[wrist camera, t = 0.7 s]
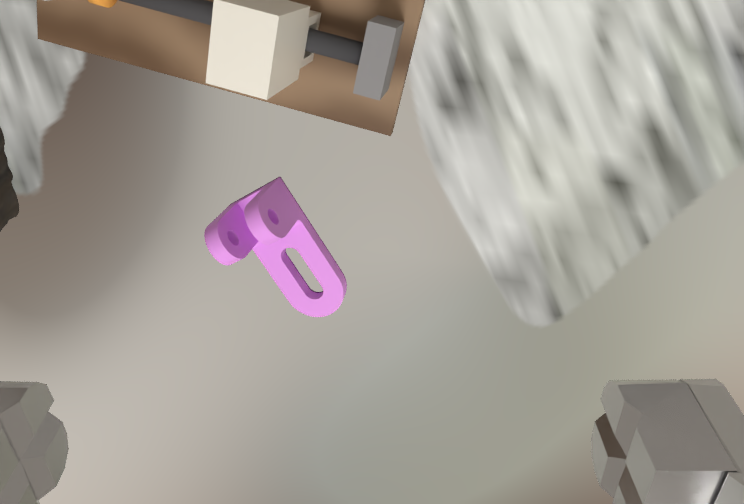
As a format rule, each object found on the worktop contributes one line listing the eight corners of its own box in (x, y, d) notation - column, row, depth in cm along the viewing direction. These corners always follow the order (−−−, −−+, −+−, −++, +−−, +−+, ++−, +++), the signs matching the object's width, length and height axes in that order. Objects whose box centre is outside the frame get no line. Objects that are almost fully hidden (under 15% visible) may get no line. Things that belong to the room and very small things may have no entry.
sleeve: (270, -12, 46) (213, -2, 37) (323, 2, 46) (279, 16, 37) (261, 57, 48) (205, 83, 39) (311, 70, 48) (266, 99, 39)
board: (42, -127, 47) (33, -129, 46) (431, -27, 45) (430, -26, 44) (45, 37, 53) (37, 38, 52) (392, 132, 51) (390, 136, 50)
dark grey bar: (37, -75, 48) (-4, -77, 44) (404, 22, 46) (395, 29, 42) (39, -6, 50) (0, -2, 46) (388, 89, 48) (378, 101, 44)
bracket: (230, 203, 56) (197, 235, 50) (280, 176, 54) (252, 205, 48) (309, 317, 60) (287, 359, 54) (358, 295, 58) (341, 337, 52)
